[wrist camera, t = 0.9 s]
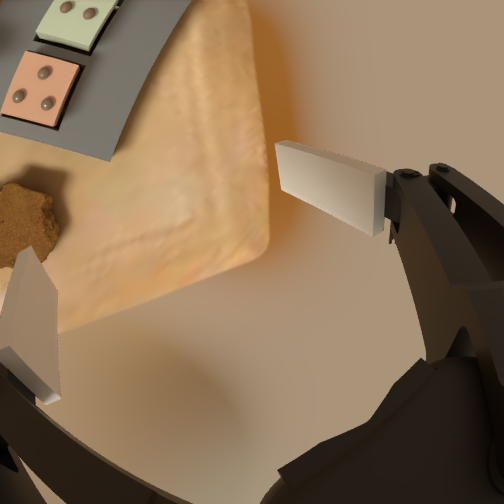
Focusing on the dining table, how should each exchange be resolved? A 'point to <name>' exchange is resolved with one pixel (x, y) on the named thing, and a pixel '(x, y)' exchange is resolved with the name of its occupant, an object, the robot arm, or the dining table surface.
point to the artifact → (25, 223)
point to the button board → (88, 70)
